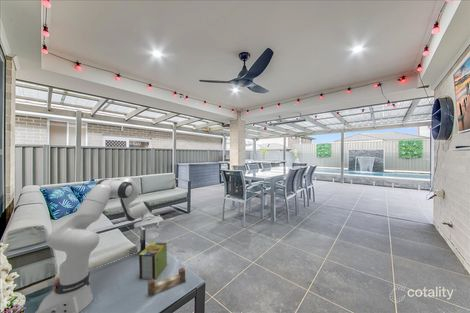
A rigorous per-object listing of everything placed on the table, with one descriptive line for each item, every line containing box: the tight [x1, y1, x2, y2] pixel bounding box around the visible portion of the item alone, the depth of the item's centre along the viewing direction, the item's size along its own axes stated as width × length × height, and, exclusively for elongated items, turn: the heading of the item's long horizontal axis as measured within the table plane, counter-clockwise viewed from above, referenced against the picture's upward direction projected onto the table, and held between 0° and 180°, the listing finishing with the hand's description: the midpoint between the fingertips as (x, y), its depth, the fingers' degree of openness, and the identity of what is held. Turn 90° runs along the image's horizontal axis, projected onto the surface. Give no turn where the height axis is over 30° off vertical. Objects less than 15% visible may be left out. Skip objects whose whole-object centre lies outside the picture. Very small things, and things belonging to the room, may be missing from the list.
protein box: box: [138, 241, 168, 281], centre depth 117 cm, size 10×15×16 cm
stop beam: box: [147, 267, 186, 297], centre depth 104 cm, size 20×4×7 cm, turn 124°
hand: (150, 228), depth 131 cm, fingers open, 8 cm apart
